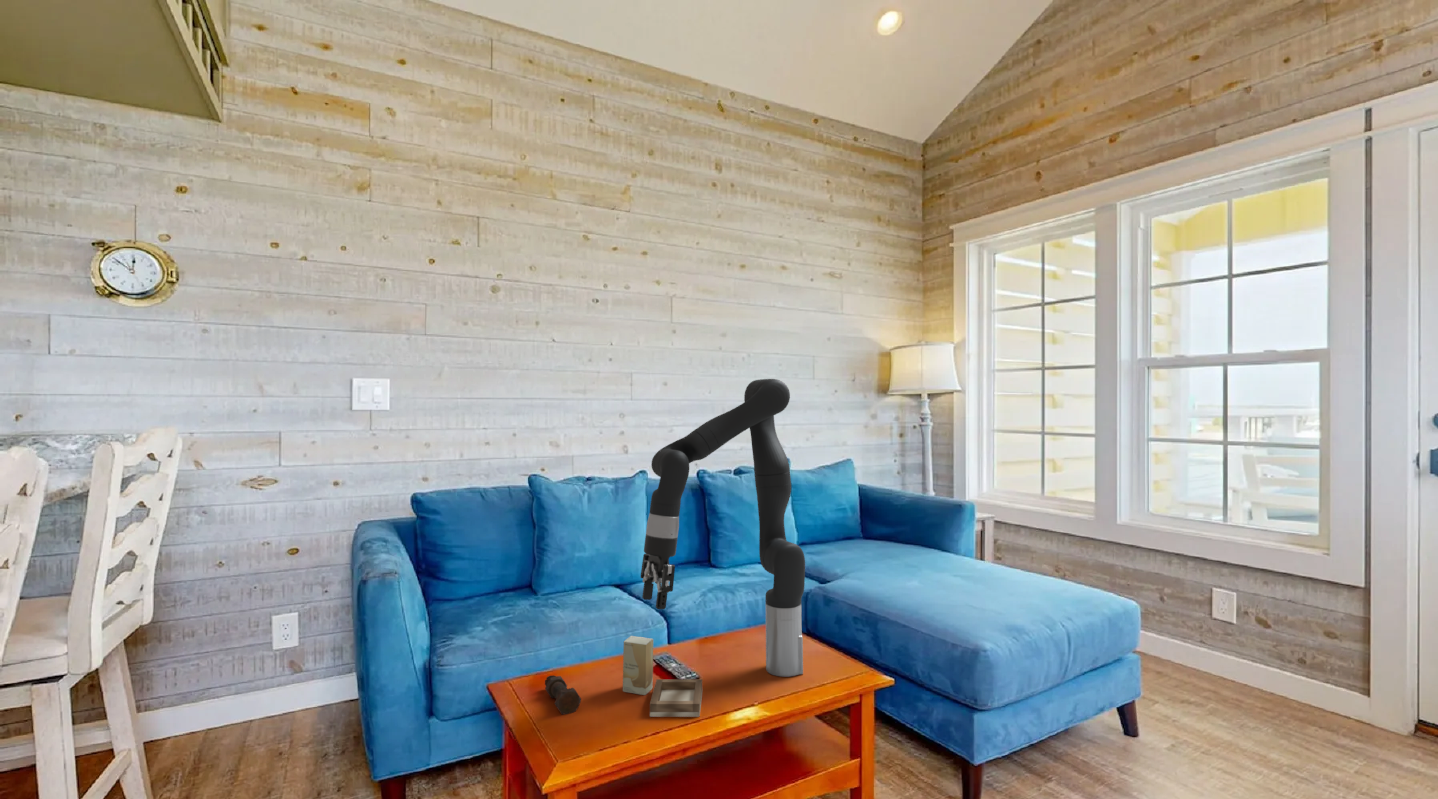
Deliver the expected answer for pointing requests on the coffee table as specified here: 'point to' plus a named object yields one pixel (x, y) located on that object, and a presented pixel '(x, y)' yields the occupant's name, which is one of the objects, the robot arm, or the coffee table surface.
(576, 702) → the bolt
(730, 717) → the coffee table surface
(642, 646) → the skincare box
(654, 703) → the tray
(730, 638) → the coffee table surface
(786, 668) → the robot arm
